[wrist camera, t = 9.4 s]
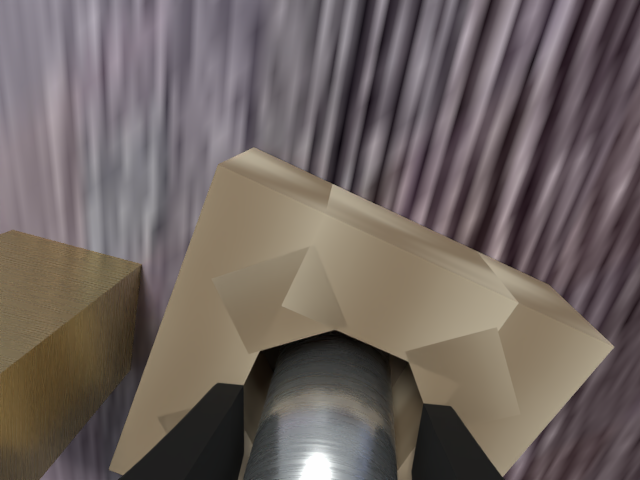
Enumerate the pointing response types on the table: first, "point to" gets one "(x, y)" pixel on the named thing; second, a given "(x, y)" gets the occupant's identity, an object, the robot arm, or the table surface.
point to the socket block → (355, 315)
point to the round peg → (327, 413)
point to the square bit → (58, 344)
